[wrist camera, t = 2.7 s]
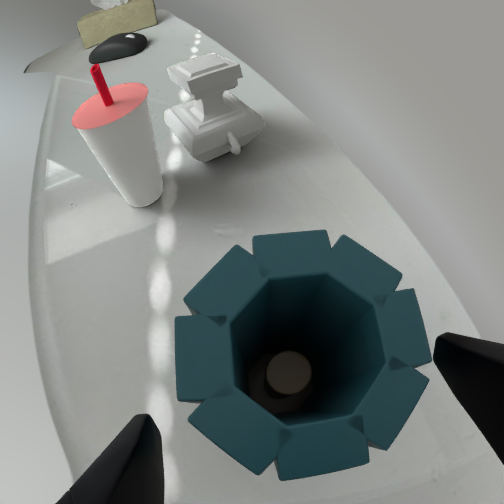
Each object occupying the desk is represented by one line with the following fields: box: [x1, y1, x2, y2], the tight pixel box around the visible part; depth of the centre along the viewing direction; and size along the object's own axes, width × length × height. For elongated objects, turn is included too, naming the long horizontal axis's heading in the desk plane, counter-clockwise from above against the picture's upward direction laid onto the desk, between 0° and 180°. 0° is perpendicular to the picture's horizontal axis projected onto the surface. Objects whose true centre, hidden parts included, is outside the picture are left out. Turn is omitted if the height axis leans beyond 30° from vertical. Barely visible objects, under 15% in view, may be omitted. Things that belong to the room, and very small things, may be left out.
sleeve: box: [175, 230, 432, 481], centre depth 11 cm, size 6×6×10 cm
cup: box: [72, 63, 164, 207], centre depth 18 cm, size 5×5×12 cm
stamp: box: [164, 52, 265, 163], centre depth 22 cm, size 9×7×8 cm
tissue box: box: [77, 0, 157, 49], centre depth 45 cm, size 19×10×16 cm, turn 111°
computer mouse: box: [89, 33, 148, 63], centre depth 41 cm, size 8×12×4 cm, turn 88°
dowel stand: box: [248, 350, 313, 414], centre depth 13 cm, size 6×6×6 cm
